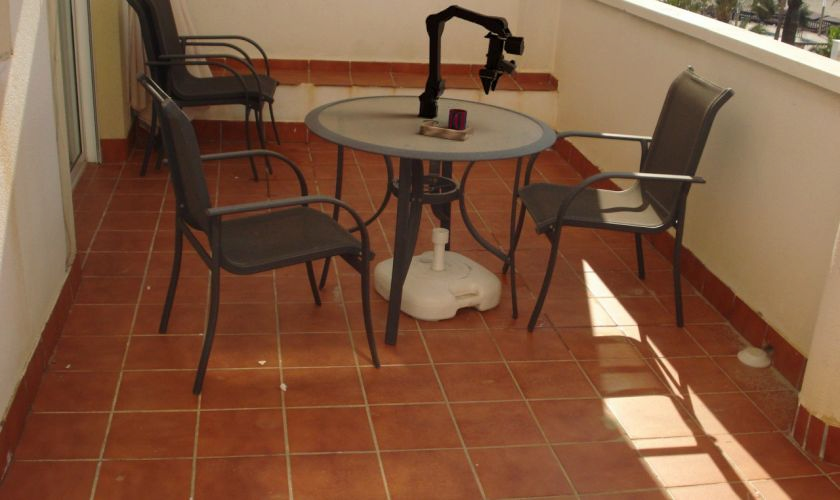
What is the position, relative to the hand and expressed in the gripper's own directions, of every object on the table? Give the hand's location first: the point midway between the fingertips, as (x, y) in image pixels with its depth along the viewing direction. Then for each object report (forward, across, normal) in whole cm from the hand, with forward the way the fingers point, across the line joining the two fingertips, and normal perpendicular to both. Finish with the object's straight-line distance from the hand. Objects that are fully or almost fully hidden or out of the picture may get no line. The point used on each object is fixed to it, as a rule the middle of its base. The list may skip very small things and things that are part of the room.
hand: (489, 92), depth 350 cm
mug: (+13, -13, +8) cm, 20 cm away
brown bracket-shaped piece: (+13, -24, +8) cm, 29 cm away
